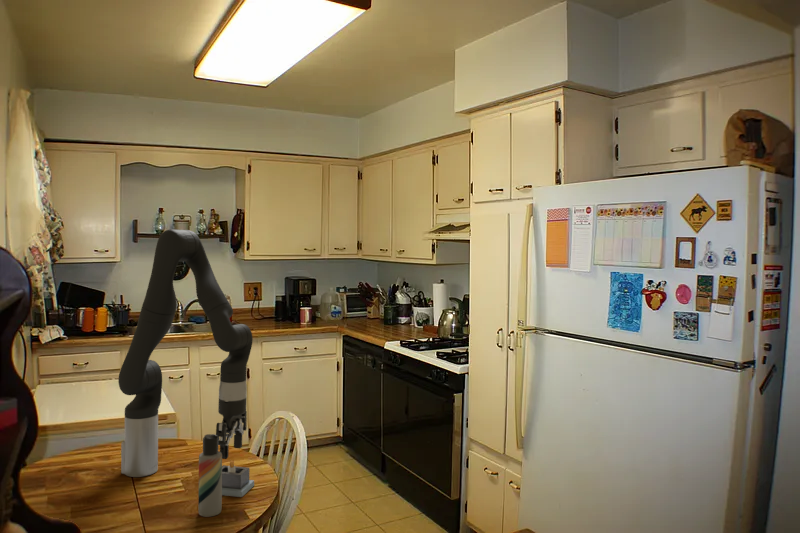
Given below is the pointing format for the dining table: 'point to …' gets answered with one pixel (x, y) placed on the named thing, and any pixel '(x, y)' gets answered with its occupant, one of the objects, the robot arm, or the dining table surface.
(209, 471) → the lotion bottle
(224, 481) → the link
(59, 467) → the dining table surface
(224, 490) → the grey base with peg
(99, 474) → the dining table surface
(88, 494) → the dining table surface
